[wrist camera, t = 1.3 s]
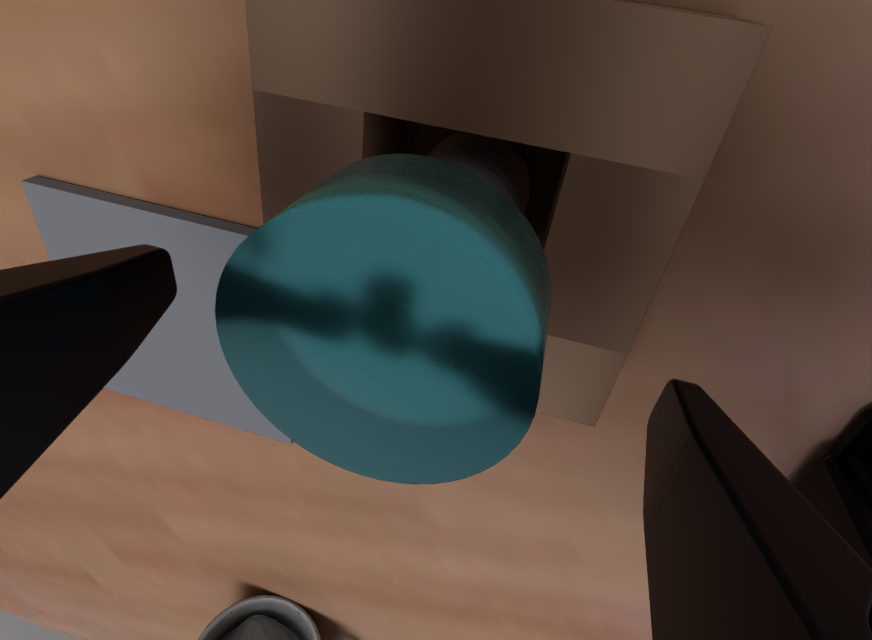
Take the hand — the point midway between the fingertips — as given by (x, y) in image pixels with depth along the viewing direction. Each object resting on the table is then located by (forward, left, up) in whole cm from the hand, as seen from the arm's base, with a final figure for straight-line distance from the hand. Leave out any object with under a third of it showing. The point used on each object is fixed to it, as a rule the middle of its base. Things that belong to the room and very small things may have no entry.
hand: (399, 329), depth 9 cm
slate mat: (+11, +8, -7) cm, 15 cm away
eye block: (0, 0, -7) cm, 7 cm away
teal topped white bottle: (0, 0, -7) cm, 7 cm away
